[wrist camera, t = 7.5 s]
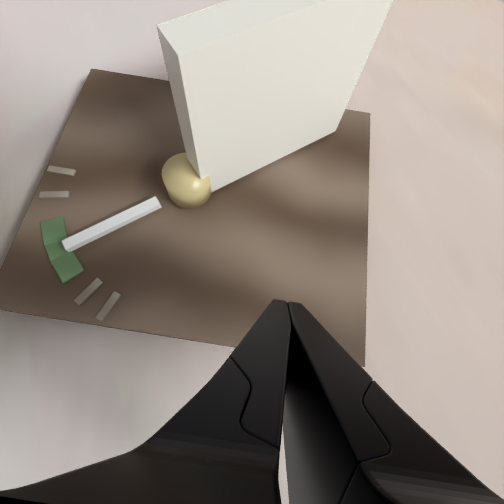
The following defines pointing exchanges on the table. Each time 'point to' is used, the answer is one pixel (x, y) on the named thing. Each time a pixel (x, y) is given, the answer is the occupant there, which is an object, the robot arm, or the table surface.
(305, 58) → the upright white panel
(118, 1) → the table surface
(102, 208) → the tuner board
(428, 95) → the table surface
